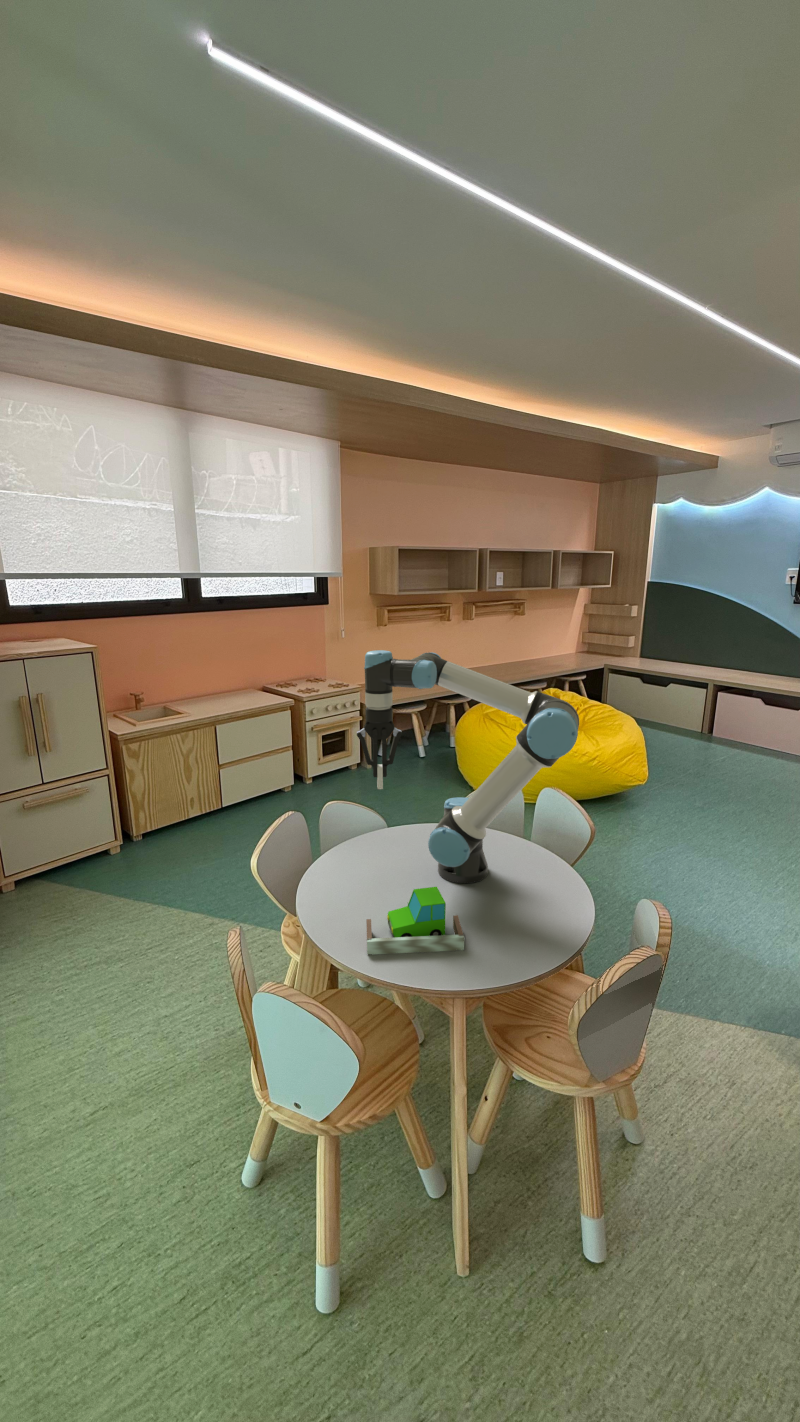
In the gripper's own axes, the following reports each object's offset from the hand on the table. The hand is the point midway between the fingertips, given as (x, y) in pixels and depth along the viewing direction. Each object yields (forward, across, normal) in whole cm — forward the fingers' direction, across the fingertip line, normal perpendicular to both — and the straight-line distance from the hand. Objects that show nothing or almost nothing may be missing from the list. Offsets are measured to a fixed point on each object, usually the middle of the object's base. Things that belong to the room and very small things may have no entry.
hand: (380, 787), depth 173 cm
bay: (+29, -7, +30) cm, 43 cm away
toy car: (+30, -8, +27) cm, 41 cm away
